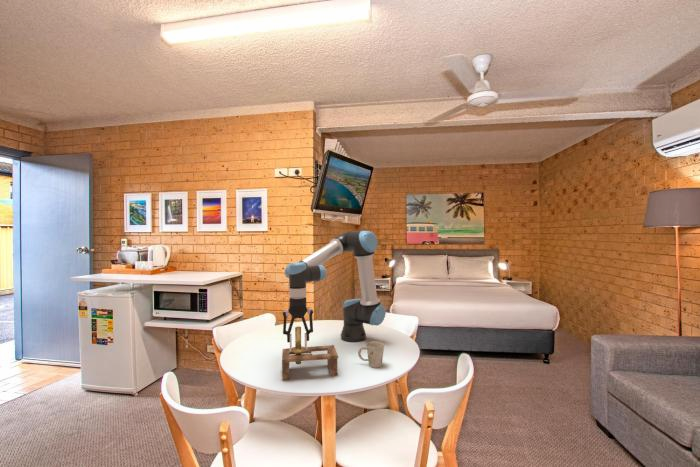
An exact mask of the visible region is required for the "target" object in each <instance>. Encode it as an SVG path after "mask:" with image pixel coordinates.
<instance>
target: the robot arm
mask: <svg viewBox="0 0 700 467" xmlns="http://www.w3.org/2000/svg"><path fill="white" fill-rule="evenodd" d="M377 248H378V239H377V237H376V234H375V233H374V232H372V231H371V230H370V231H369V230H351V231H345V232H343V233H341V234H339V235H337V236H335V237H334V238H332V239H330V241H329V243H327V244H326V245H324V246H323V247H320V248H319V249H317V250H316V251H314V252H312V253H310V254H309V255H307V256H306V257H305V258H303V259H301V260H299V261H298V262H291V263H289V264H288V265H286V267H285V268H284V274H285V275H284V276H286V277H287V278H288V282H289V283H288V284H289V286H288V287H289V288H288V292H289V293H288V294H289V295H288V296H289V302H288V303H289V306H288V309H287V310H283V311H282V316H283V323H282V324H283V325H282V326H283V328H282V334H283V335H285V336H286V340H287V341H286V342H287V343H289V348H290V350H292V348H293V346H292V344H293V343H292V342H293V341H292V340H293V339H292V337H293V336H292V333H291V332H292V330H293V325H294V322H295V319H301V321H302V324H303V327H304V329H305V332H304V347H305V349H307V347H308V344H307V343H308V342H309V341H310V334H311V333H313V332H314V325H313V323H314V321H313V314H314V310H313V309H309V308H308V307H307V297H306V296H307V284H308V283H313V282H320V281H323V280H324V279H326V278H327V269H326V267H325V266H324V265H323V264H324V263H326V262H328V261H329V260H331V258H333V257H335V256H337V255H342V254H343V253H345V252H346V253H347V252H351V253H352V252H353V257H354V258H355V259H356V260H357V261H356V262H357V263H356V264H357V269H358V277H359V286H360V294H361V298H353V299H352V298H351V299H346V300H344V302H343V307H342V308H343V311H342V312H343V314H342V315H343V326H342V330H341V332H340V340H342V341H344V342H351V343H355V342H356V341H358V342H362V340H363V341H365V340H366V339H367V333H366V330H365V326H364V324H367V325H370V326H380V325H381V324H382V323H383V322H384V320H385V318H386V314H387V312H386V310H387V309H386V307H385V306H384V305H383V304H381V299H380V298H378V294H377V293H378V292H377V288H376V280H375V271H374V262H373V261H374V260H373V256H374V255H375V251H376V250H377ZM306 314H308V319H309V328H308V324H307V321H306V318H305V315H306ZM288 315H290V316H291V319H290V323H289V326H288V328H287V318H288ZM364 339H365V340H364ZM356 343H357V342H356Z"/></svg>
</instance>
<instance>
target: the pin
mask: <svg viewBox="0 0 700 467" xmlns="http://www.w3.org/2000/svg"><path fill="white" fill-rule="evenodd" d="M294 332H295V334H294V342H295V345H294V346H292V353H293V354H292V355H298V354H302V353H304V352H305V346H302V327H301V326H295V327H294ZM295 364H296V365H301V364H302V361H298V362H295Z"/></svg>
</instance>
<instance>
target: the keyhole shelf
mask: <svg viewBox="0 0 700 467" xmlns="http://www.w3.org/2000/svg"><path fill="white" fill-rule="evenodd" d="M281 351H282V352H281V354H282V355H281V370H282V371H281V374H282V375H281V376H282V378H281V380H282V381H289V380H290V363H296V362H298V361H301V362H308V361H320V360H323V361H324V360H327V368H328V371H329V375H330V376H331V377H332V376H338V359H339V355H338V351H337V349H336V347H335V345H334V344H329V345H316V346H307V349H305V352H304V353H302V354H298V355H295V354H293V353H292V350H290V347H289V348H282V350H281ZM321 351H322V352H324V351H325V352H326V353H318V354H317V353H316V354H313V353H312V352H321Z"/></svg>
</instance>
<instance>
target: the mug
mask: <svg viewBox="0 0 700 467" xmlns="http://www.w3.org/2000/svg"><path fill="white" fill-rule="evenodd" d="M365 345H366V346H360V347H359V349H358V351H357V356H358V357H359V359H360V360H362V361H364V362H368V366H369V367H370V368H375V369H377V368H381V367H382V366H383V357H384V349H385V343H384V342H382V341H377V340H375V341H368V342H367V343H366V344H365ZM363 350H366V353H367V358H364V357H363V356H362V355H361V353H362V351H363Z"/></svg>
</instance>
